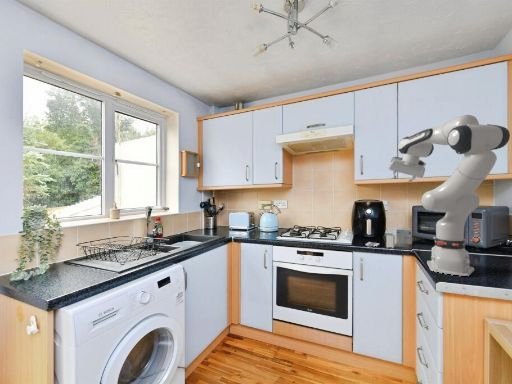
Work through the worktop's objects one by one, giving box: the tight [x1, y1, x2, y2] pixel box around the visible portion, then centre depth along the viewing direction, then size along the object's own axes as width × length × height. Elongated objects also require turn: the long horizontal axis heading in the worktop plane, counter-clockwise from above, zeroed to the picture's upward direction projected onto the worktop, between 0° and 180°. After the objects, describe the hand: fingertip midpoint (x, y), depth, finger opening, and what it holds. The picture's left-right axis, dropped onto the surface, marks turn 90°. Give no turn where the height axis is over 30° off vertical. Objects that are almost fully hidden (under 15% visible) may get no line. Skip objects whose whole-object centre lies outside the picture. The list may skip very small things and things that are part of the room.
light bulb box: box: [392, 227, 413, 245], centre depth 176 cm, size 11×7×11 cm, turn 84°
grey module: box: [386, 234, 396, 249], centre depth 166 cm, size 4×4×8 cm
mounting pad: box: [365, 241, 380, 247], centre depth 173 cm, size 9×7×1 cm
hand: (402, 180), depth 162 cm, fingers open, 8 cm apart
